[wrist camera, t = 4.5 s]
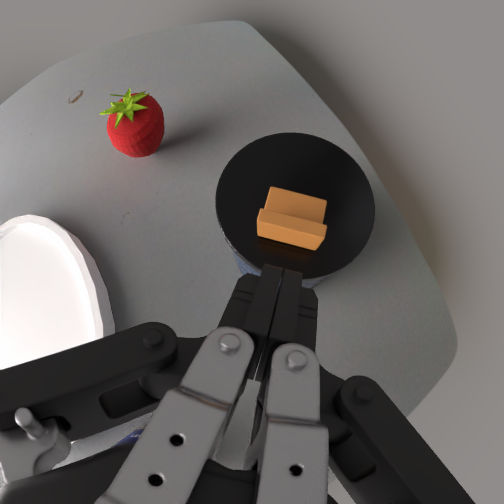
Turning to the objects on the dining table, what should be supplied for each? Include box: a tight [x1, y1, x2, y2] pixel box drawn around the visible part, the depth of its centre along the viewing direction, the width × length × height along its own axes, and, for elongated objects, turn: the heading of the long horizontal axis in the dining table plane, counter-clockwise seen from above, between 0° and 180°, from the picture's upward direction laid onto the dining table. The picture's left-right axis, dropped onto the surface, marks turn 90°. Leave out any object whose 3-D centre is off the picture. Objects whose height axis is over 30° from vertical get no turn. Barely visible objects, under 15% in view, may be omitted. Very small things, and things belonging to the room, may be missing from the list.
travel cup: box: [216, 133, 375, 289], centre depth 21 cm, size 9×9×11 cm
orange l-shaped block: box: [257, 187, 327, 250], centre depth 14 cm, size 3×3×2 cm
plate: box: [0, 214, 115, 444], centre depth 24 cm, size 28×28×2 cm
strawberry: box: [100, 88, 164, 158], centre depth 25 cm, size 6×8×10 cm
